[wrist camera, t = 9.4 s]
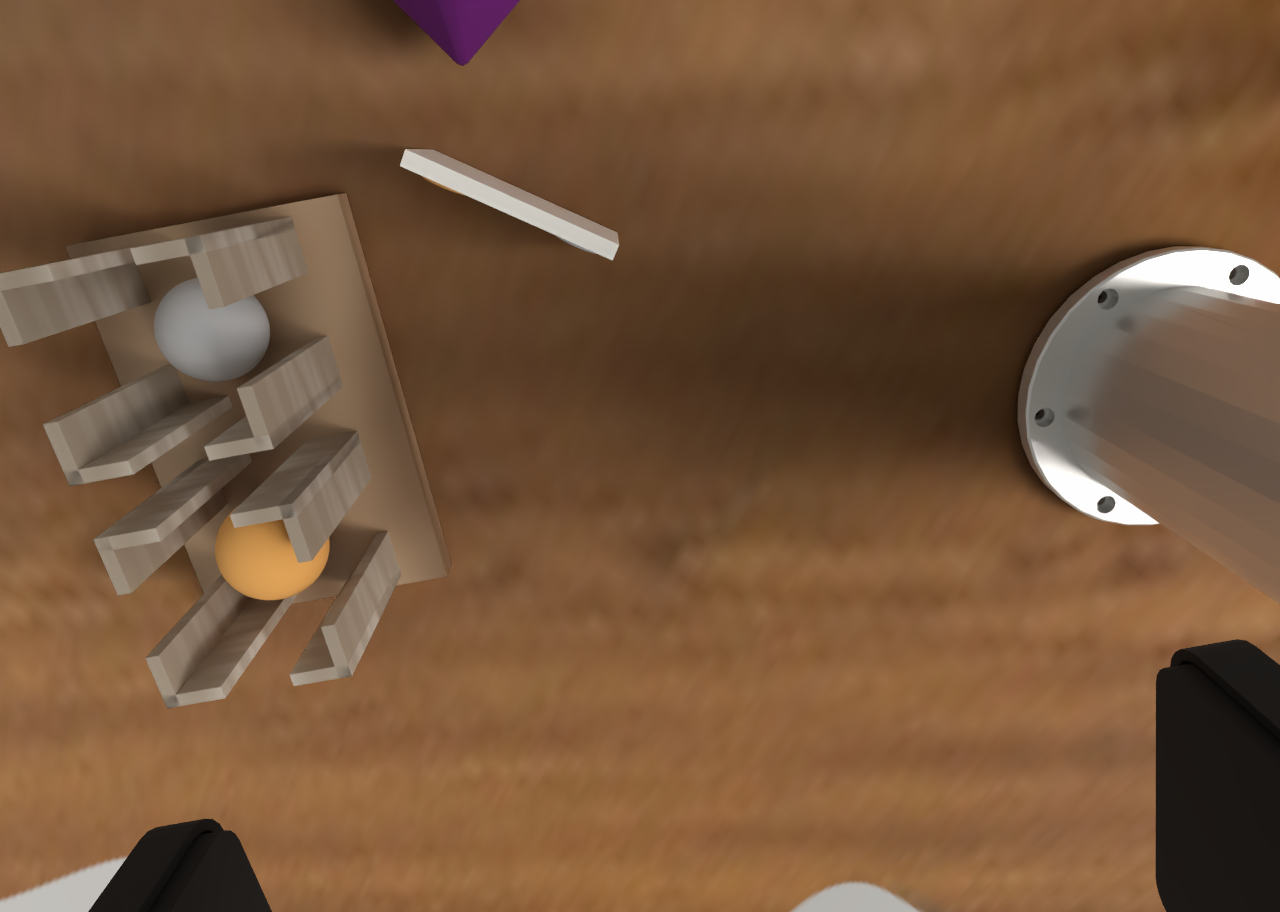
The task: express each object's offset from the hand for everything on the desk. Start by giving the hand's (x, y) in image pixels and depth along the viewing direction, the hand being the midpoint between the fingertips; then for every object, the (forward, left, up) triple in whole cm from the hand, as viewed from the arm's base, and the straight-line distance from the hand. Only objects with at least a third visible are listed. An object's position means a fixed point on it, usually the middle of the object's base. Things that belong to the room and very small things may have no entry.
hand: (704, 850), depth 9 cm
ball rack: (+16, +1, -30) cm, 34 cm away
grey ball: (+16, -3, -28) cm, 33 cm away
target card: (+3, -6, -30) cm, 30 cm away
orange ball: (+16, +6, -23) cm, 29 cm away
